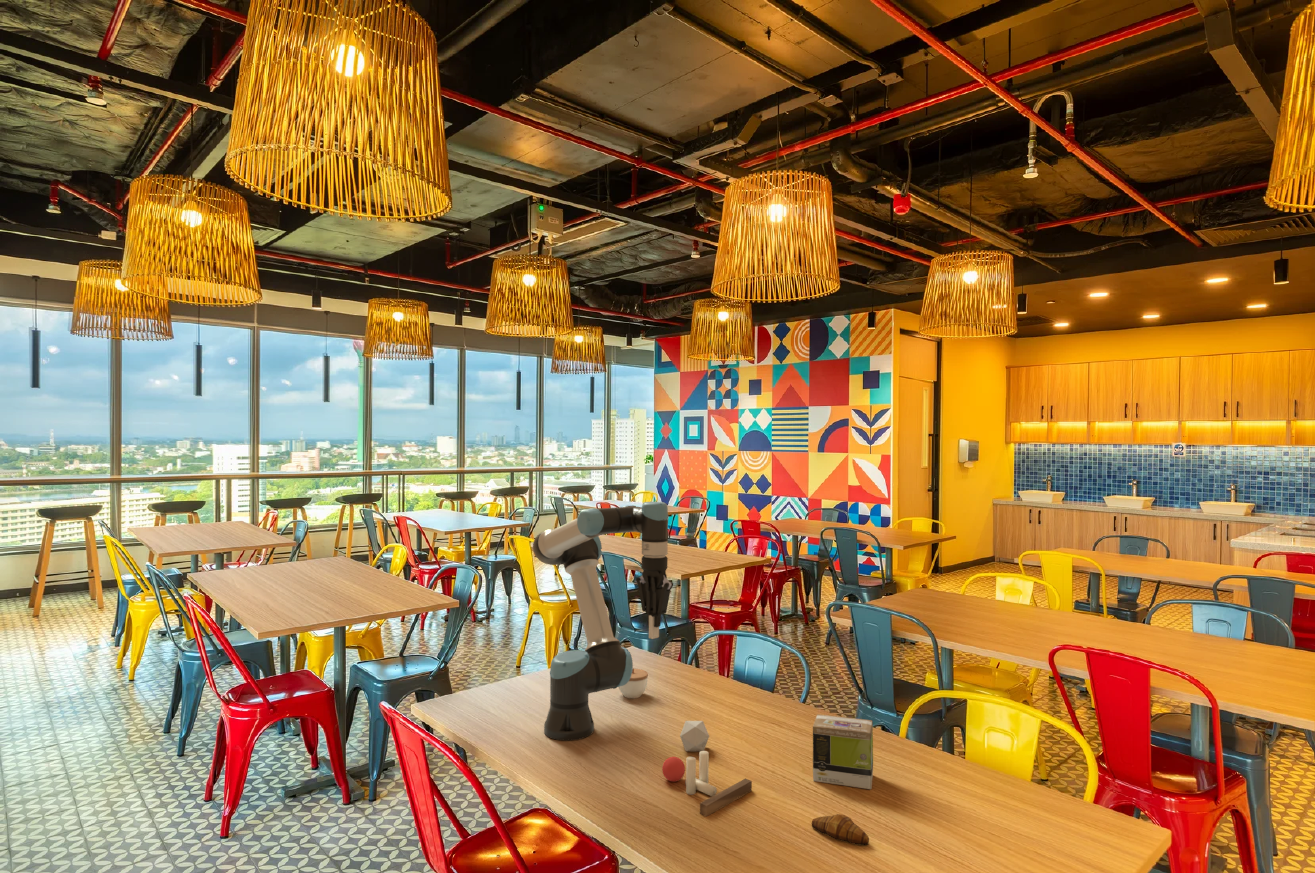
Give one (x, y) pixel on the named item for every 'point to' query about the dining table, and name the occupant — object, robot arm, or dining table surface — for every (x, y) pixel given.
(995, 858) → the dining table surface
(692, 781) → the back pin right
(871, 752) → the tea box
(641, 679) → the lidded jar
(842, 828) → the croissant
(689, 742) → the die
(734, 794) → the back rail
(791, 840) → the dining table surface
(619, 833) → the dining table surface
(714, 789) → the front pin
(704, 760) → the back pin left
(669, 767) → the ball
